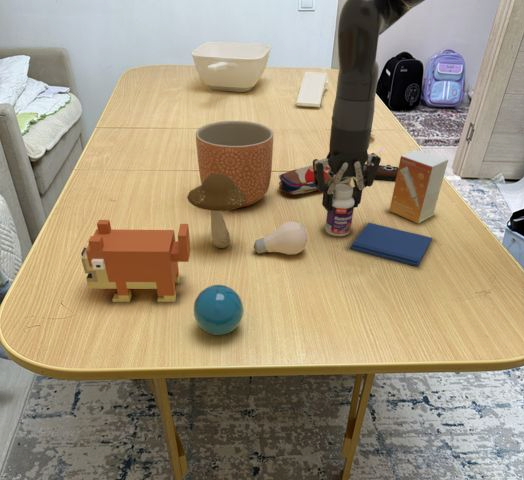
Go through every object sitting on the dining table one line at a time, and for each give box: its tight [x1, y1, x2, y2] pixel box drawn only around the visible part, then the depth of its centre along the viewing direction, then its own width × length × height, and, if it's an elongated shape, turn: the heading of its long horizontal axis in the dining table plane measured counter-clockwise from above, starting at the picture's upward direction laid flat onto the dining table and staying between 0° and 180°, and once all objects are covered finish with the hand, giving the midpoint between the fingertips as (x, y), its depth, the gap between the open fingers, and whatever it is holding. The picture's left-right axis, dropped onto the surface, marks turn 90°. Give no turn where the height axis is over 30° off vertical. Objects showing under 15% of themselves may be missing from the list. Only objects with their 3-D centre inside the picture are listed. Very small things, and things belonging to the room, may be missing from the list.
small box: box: [389, 148, 449, 224], centre depth 108 cm, size 8×6×13 cm
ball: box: [193, 284, 245, 336], centre depth 78 cm, size 8×8×8 cm
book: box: [349, 222, 433, 268], centre depth 102 cm, size 14×12×1 cm
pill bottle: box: [324, 184, 355, 237], centre depth 103 cm, size 5×5×10 cm
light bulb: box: [253, 220, 309, 256], centre depth 97 cm, size 7×7×11 cm
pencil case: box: [278, 164, 353, 196], centre depth 121 cm, size 11×20×5 cm, turn 102°
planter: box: [195, 120, 274, 208], centre depth 112 cm, size 17×17×15 cm
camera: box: [361, 163, 399, 182], centre depth 128 cm, size 6×3×11 cm
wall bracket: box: [295, 71, 329, 108], centre depth 181 cm, size 10×7×28 cm
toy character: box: [80, 219, 191, 303], centre depth 84 cm, size 9×18×12 cm, turn 91°
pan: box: [190, 41, 272, 93], centre depth 180 cm, size 27×44×13 cm, turn 170°
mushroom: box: [186, 173, 246, 249], centre depth 95 cm, size 9×11×15 cm
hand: (340, 207), depth 102 cm, fingers closed on pill bottle, 5 cm apart
